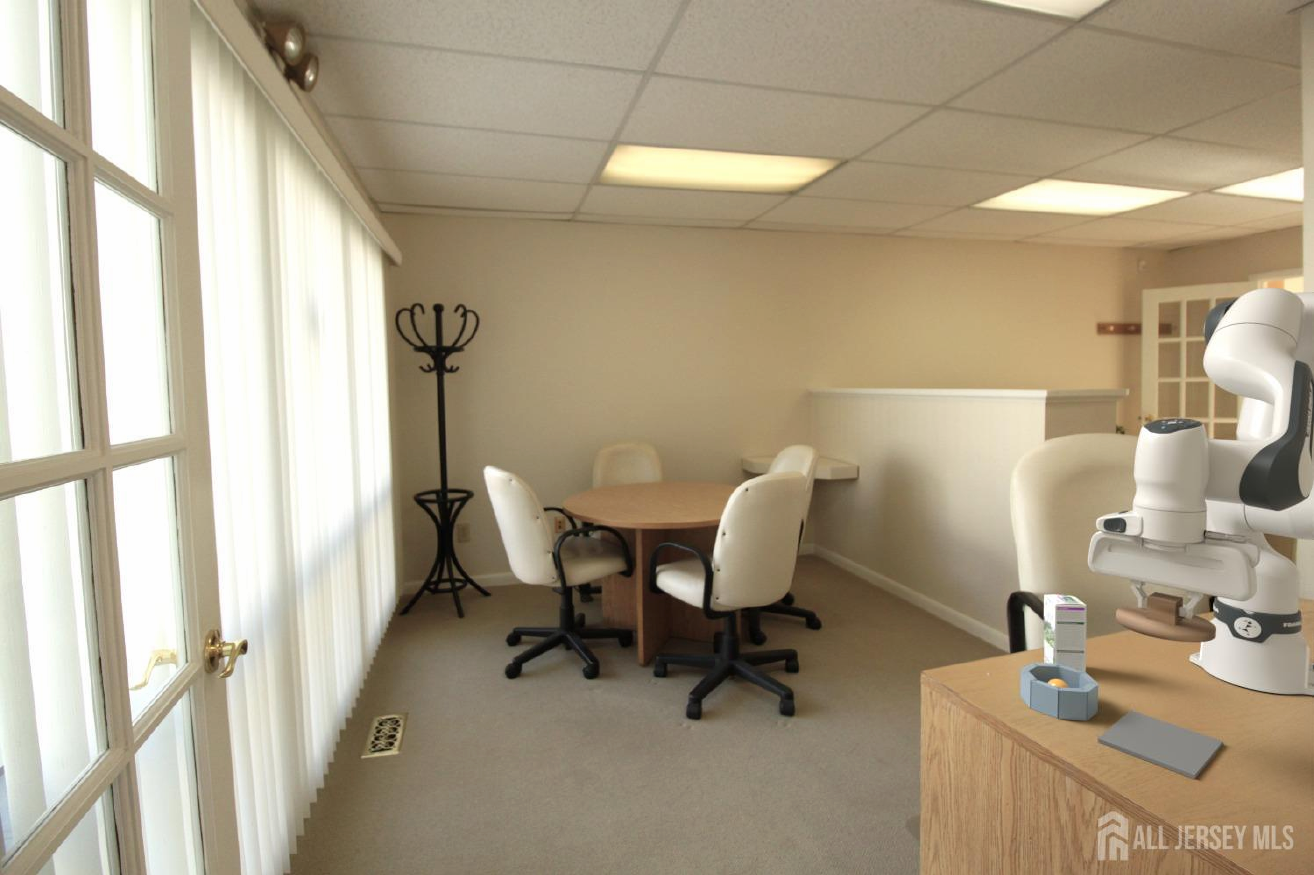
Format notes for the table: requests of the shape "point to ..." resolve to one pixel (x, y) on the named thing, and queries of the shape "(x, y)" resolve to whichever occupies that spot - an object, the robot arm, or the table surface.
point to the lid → (1165, 620)
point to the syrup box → (1065, 631)
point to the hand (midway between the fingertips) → (1164, 613)
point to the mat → (1162, 743)
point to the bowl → (1059, 691)
